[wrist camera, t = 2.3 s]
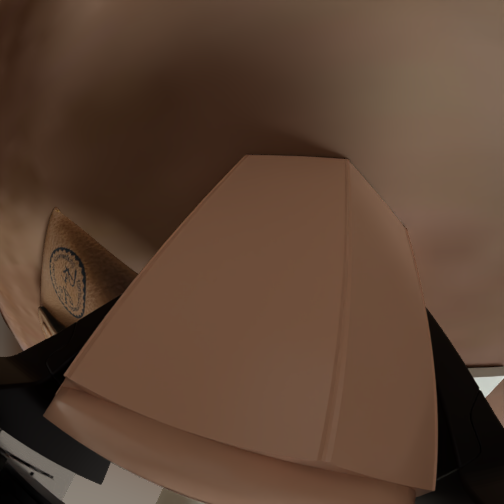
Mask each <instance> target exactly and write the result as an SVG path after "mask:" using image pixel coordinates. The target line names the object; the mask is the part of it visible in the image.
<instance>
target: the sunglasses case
mask: <svg viewBox="0 0 504 504" xmlns="http://www.w3.org/2000/svg"><path fill="white" fill-rule="evenodd" d="M137 275H138V274H137V273H136V272H134V271H133V270H132V269H130V268H129V267H128V266H127V265H125V264H124V263H123V262H122V261H120V260H119V259H118V258H117V257H115V256H114V255H113V254H112V253H110V252H109V251H108V250H107V249H105V248H104V247H103V246H102V245H100V244H99V243H98V242H97V241H96V240H94V239H93V238H92V237H91V236H90V235H89V234H87V233H86V232H85V231H84V230H82V229H81V228H80V227H79V226H78V225H76V224H75V223H74V222H73V221H71V220H69V219H68V218H67V217H66V216H64V215H63V214H62V213H61V212H60V211H59V209H58V208H57V207H55V208H54V209H53V212H52V214H51V217H50V220H49V224H48V228H47V233H46V238H45V245H44V251H43V259H42V272H41V307H39V308H38V315H39V321H40V324H41V328H42V331H43V333H44V335H45V338H46V339H47V338H49V337H51V336H53V335H55V334H56V333H58V332H60V331H61V330H63V329H65V328H67V327H68V326H70V325H71V324H73V323H75V322H77V321H78V320H80V319H81V318H83V317H84V316H86V315H88V314H89V313H91V312H93V311H94V310H96V309H98V308H99V307H101V306H103V305H104V304H106V303H108V302H109V301H111V300H113V299H114V298H116V297H118V296H119V295H121V294H123V293H124V292H125V290H126V289H127V288H128V287H129V285H130V284H131V283H132V282H133V280H134V279H135V278H136V277H137Z"/></svg>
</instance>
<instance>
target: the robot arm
mask: <svg viewBox="0 0 504 504" xmlns="http://www.w3.org/2000/svg"><path fill="white" fill-rule="evenodd" d="M121 296H122V294H121V295H119V296H118V297H116V298H114V299H113V300H111V301H109V302H108V303H106V304H104V305H103V306H101V307H99V308H98V309H96V310H94V311H93V312H91V313H89V314H88V315H86V316H84V317H83V318H81V319H80V320H78V321H77V322H75V323H73V324H71V325H70V326H68V327H67V328H65V329H63V330H61V331H60V332H58V333H56V334H55V335H53V336H51V337H49V338H47V339H45V340H44V341H42V342H40V343H38V344H36V345H34V346H32V347H30V348H28V349H27V350H25V351H23V352H21V353H19V354H17V355H14V356H10V357H0V504H65V503H64V502H62V500H63V498H64V496H65V494H66V492H67V490H68V488H69V486H70V484H71V482H72V480H73V478H74V476H75V474H78V475H80V476H82V477H84V478H86V479H89V480H91V481H93V482H95V483H98V484H102V482H103V480H104V478H105V475H106V473H107V470H108V468H109V465H110V463H111V462H109V461H108V460H106V459H104V458H103V457H101V456H99V455H98V454H96V453H94V452H93V451H91V450H89V449H88V448H86V447H85V446H83V445H82V444H80V443H79V442H77V441H76V440H74V439H73V438H71V437H70V436H68V435H67V434H66V433H64V432H63V431H62V430H60V429H59V428H57V427H56V426H55V425H54V424H52V423H51V422H50V421H48V420H47V419H46V418H45V417H44V416H43V415H44V413H45V411H46V410H47V408H48V407H49V405H50V403H51V402H52V400H53V399H54V397H55V394H56V392H57V391H58V389H59V388H60V386H61V385H62V383H63V382H64V380H65V378H66V377H65V376H64V374H65V372H66V371H67V369H68V368H69V366H70V365H71V363H72V362H73V361H74V359H75V358H76V356H77V355H78V353H79V352H80V351H81V349H82V348H83V346H84V345H85V344H86V342H87V341H88V339H89V338H90V337H91V335H92V334H93V332H94V331H95V330H96V328H97V327H98V326H99V324H100V323H101V322H102V320H103V319H104V318H105V316H106V315H107V314H108V312H109V311H110V310H111V308H112V307H113V306H114V305H115V303H116V302H117V301H118V299H119V298H120V297H121ZM425 307H426V306H425ZM426 312H427V318H428V324H429V330H430V337H431V344H432V351H433V360H434V369H435V380H436V393H437V414H438V453H437V473H436V486H435V491H432V492H429V493H427V494H424V495H421V496H418V497H416V499H415V504H504V428H503V426H502V425H501V423H500V421H499V420H498V418H497V417H496V415H495V414H494V412H493V410H492V408H491V407H490V405H489V403H488V402H487V400H486V398H485V396H484V395H483V393H482V391H481V390H479V386H478V385H477V383H476V381H475V379H474V378H473V376H472V375H471V373H470V371H469V370H468V368H467V366H466V365H465V363H464V362H463V360H462V359H461V357H460V355H459V354H458V352H457V351H456V349H455V348H454V346H453V345H452V343H451V342H450V340H449V339H448V337H447V336H446V334H445V333H444V332H443V330H442V329H441V327H440V326H439V324H438V323H437V322H436V320H435V319H434V317H433V316H432V315H431V313H430V312H429V310H428V309H427V308H426Z"/></svg>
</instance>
